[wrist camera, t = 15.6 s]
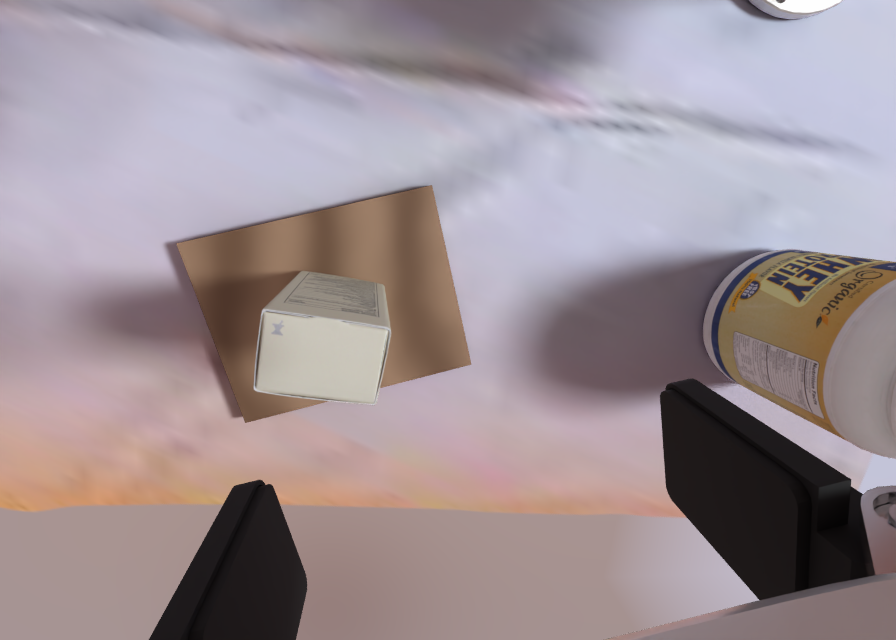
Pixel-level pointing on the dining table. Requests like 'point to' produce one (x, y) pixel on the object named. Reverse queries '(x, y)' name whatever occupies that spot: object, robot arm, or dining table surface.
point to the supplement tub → (813, 340)
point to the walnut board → (342, 254)
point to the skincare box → (324, 340)
